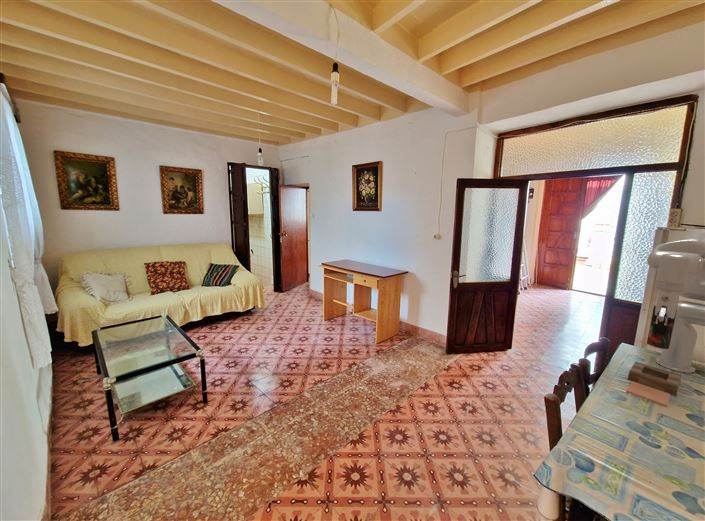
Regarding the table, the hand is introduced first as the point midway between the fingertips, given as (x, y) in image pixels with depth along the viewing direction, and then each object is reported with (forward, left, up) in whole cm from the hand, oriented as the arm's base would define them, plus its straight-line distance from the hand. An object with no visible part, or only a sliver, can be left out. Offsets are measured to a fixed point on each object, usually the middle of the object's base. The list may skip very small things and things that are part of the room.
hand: (660, 331), depth 110 cm
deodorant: (0, 0, -6) cm, 6 cm away
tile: (+1, 0, -26) cm, 26 cm away
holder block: (-13, 0, -26) cm, 29 cm away
